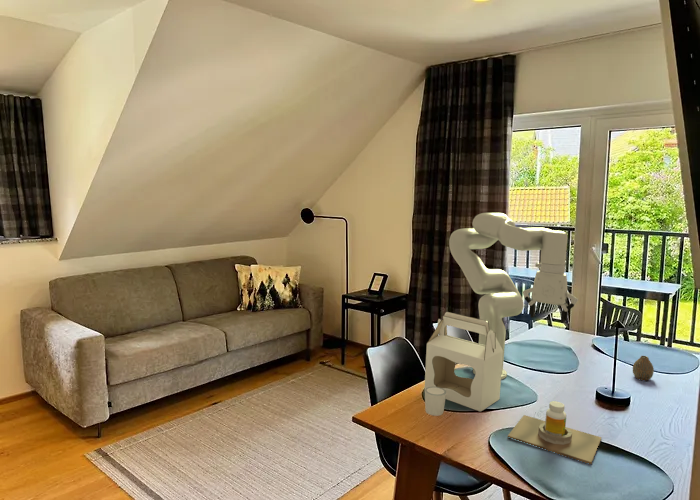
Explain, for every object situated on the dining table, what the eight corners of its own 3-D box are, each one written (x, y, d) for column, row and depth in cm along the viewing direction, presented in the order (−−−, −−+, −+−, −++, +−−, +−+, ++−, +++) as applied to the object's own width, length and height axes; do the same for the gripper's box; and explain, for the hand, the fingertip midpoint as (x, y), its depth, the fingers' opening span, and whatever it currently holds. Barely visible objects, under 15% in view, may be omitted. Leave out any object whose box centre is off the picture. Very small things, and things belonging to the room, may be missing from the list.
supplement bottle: (566, 442, 140) (569, 409, 138) (546, 439, 141) (548, 407, 139) (562, 432, 145) (565, 401, 144) (542, 430, 146) (545, 399, 145)
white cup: (432, 418, 153) (433, 396, 152) (419, 409, 159) (420, 388, 158) (449, 414, 156) (451, 393, 155) (436, 405, 162) (437, 384, 161)
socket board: (507, 438, 143) (508, 429, 142) (523, 417, 156) (524, 408, 155) (591, 465, 130) (592, 455, 130) (601, 439, 143) (602, 430, 143)
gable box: (423, 391, 173) (427, 313, 169) (443, 380, 183) (448, 306, 179) (481, 412, 158) (487, 327, 154) (500, 399, 168) (506, 319, 164)
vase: (633, 380, 188) (635, 358, 187) (630, 374, 194) (632, 352, 193) (654, 383, 185) (656, 361, 184) (650, 377, 192) (653, 355, 190)
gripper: (521, 266, 163) (517, 317, 166) (578, 273, 154) (573, 327, 156) (528, 263, 169) (524, 312, 172) (583, 270, 160) (578, 322, 162)
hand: (547, 319), depth 164 cm, fingers open, 9 cm apart
